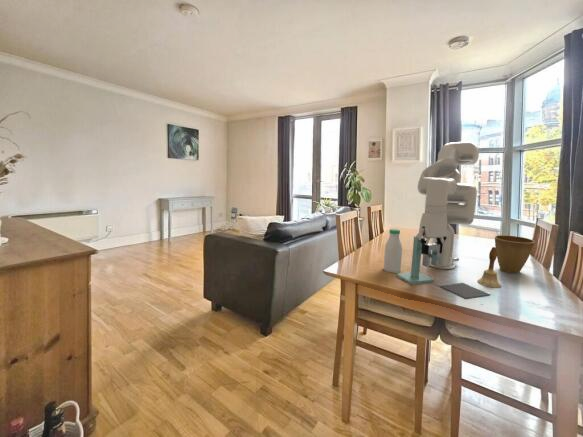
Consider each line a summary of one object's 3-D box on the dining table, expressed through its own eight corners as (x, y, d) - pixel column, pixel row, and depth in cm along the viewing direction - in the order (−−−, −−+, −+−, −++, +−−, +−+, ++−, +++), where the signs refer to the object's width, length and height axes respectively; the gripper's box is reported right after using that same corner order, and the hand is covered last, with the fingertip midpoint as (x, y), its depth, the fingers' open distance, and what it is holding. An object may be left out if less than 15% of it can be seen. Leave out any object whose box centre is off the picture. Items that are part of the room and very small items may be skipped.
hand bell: (481, 278, 123) (485, 244, 120) (503, 284, 116) (508, 248, 114) (474, 283, 118) (478, 246, 115) (497, 289, 111) (502, 251, 109)
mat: (462, 283, 117) (462, 282, 117) (489, 295, 105) (490, 294, 105) (439, 286, 113) (440, 285, 113) (465, 298, 102) (465, 297, 102)
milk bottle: (401, 273, 128) (405, 231, 125) (384, 272, 129) (387, 230, 126) (398, 268, 135) (401, 228, 132) (382, 267, 137) (385, 227, 134)
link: (433, 263, 115) (435, 242, 114) (438, 265, 113) (440, 244, 111) (422, 265, 113) (423, 244, 112) (426, 267, 111) (428, 245, 110)
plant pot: (483, 265, 141) (487, 235, 138) (512, 265, 141) (516, 235, 139) (506, 276, 126) (511, 242, 124) (538, 276, 126) (543, 242, 124)
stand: (417, 273, 128) (421, 233, 125) (447, 287, 112) (452, 242, 109) (395, 276, 125) (398, 235, 122) (423, 291, 109) (427, 244, 106)
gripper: (445, 207, 115) (441, 249, 118) (410, 209, 110) (407, 252, 113) (460, 209, 108) (455, 254, 111) (424, 211, 103) (420, 257, 106)
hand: (431, 252), depth 112 cm, fingers closed on link, 6 cm apart
